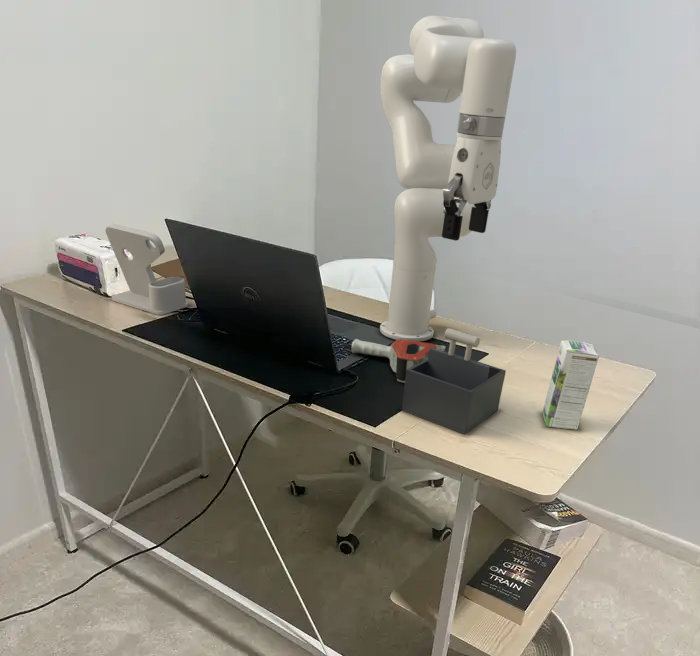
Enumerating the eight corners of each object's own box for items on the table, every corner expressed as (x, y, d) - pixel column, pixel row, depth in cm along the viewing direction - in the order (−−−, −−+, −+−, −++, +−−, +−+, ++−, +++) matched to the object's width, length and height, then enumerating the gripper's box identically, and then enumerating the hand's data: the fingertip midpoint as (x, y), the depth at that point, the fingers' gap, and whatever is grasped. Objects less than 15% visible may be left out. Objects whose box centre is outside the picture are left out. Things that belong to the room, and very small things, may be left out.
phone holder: (191, 305, 161) (187, 229, 151) (161, 316, 153) (154, 235, 144) (140, 290, 168) (132, 216, 158) (108, 299, 160) (99, 222, 151)
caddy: (437, 388, 129) (448, 315, 121) (497, 410, 123) (513, 333, 115) (401, 410, 120) (410, 331, 112) (464, 434, 114) (479, 353, 106)
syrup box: (541, 412, 123) (559, 338, 115) (573, 416, 123) (593, 342, 115) (545, 427, 118) (565, 350, 111) (579, 430, 118) (600, 354, 110)
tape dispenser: (347, 356, 144) (374, 389, 127) (347, 332, 141) (375, 363, 124) (422, 349, 148) (459, 381, 131) (424, 326, 146) (461, 355, 129)
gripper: (476, 131, 101) (458, 246, 110) (523, 129, 113) (504, 232, 122) (434, 126, 105) (420, 237, 114) (484, 124, 117) (468, 225, 126)
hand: (463, 235), depth 118 cm, fingers open, 9 cm apart
